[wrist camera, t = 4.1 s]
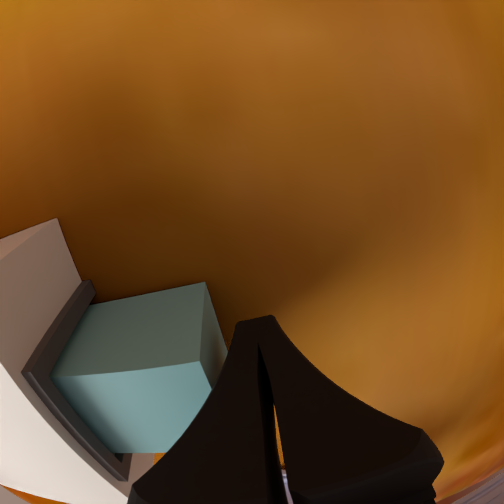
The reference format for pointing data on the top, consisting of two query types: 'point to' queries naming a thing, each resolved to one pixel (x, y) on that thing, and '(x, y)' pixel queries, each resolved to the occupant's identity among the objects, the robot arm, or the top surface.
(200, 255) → the top surface
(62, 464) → the socket block
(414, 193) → the top surface
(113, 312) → the peg
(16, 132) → the top surface
